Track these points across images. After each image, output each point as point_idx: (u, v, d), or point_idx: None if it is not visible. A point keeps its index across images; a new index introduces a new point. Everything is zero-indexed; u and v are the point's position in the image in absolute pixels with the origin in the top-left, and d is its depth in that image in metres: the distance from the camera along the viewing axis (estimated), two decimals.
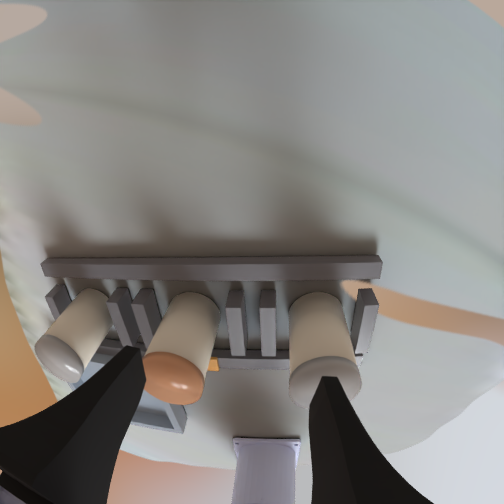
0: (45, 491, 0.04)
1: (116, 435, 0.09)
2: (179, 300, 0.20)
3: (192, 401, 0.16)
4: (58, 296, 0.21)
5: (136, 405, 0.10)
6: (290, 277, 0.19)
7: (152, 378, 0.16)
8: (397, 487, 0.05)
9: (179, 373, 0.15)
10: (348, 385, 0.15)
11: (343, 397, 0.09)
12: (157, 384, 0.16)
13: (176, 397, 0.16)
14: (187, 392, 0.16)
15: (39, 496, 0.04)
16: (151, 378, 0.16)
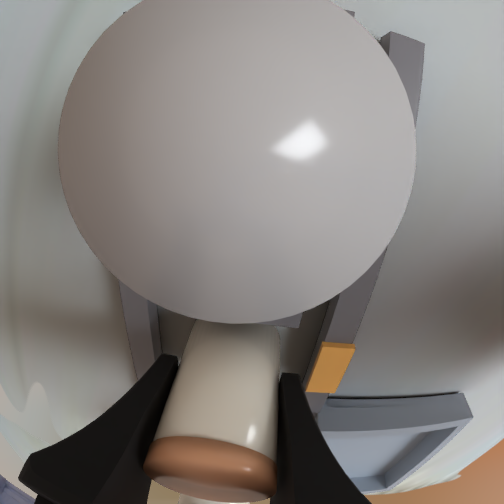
0: None
1: None
2: None
3: (261, 481, 0.06)
4: None
5: None
6: None
7: (195, 490, 0.07)
8: (344, 493, 0.05)
9: (165, 467, 0.06)
10: (197, 39, 0.02)
11: (300, 395, 0.09)
12: (211, 492, 0.07)
13: (249, 489, 0.07)
14: (228, 478, 0.06)
15: None
16: (195, 491, 0.07)
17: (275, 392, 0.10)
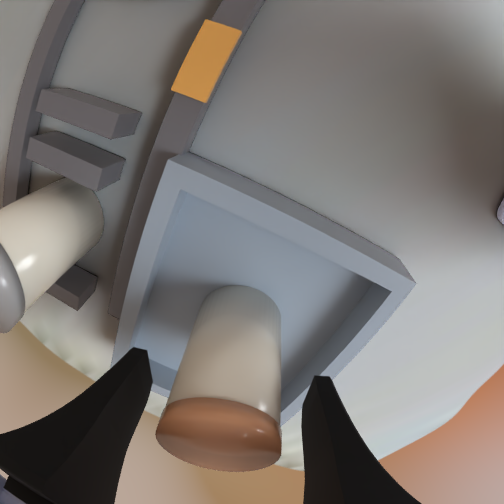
0: (55, 496, 0.04)
1: (124, 437, 0.09)
2: None
3: (267, 440, 0.07)
4: None
5: (143, 407, 0.10)
6: None
7: (204, 457, 0.08)
8: (387, 488, 0.05)
9: (178, 430, 0.08)
10: None
11: (335, 397, 0.09)
12: (219, 458, 0.08)
13: (256, 452, 0.08)
14: (236, 438, 0.08)
15: (47, 501, 0.04)
16: (204, 458, 0.08)
17: (278, 362, 0.11)
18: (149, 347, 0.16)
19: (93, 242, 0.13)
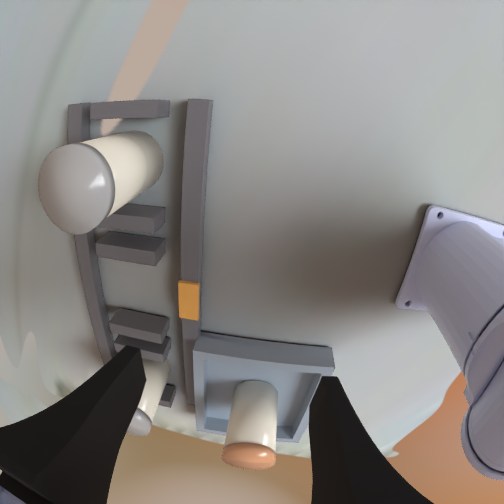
0: (45, 491, 0.04)
1: (117, 435, 0.09)
2: None
3: (264, 455, 0.18)
4: None
5: (136, 405, 0.10)
6: None
7: (245, 464, 0.19)
8: (397, 487, 0.05)
9: (229, 456, 0.19)
10: (61, 163, 0.11)
11: (343, 397, 0.09)
12: (251, 464, 0.19)
13: (263, 460, 0.18)
14: (252, 456, 0.18)
15: (39, 496, 0.04)
16: (245, 465, 0.19)
17: (271, 418, 0.21)
18: (214, 413, 0.27)
19: (168, 375, 0.25)
